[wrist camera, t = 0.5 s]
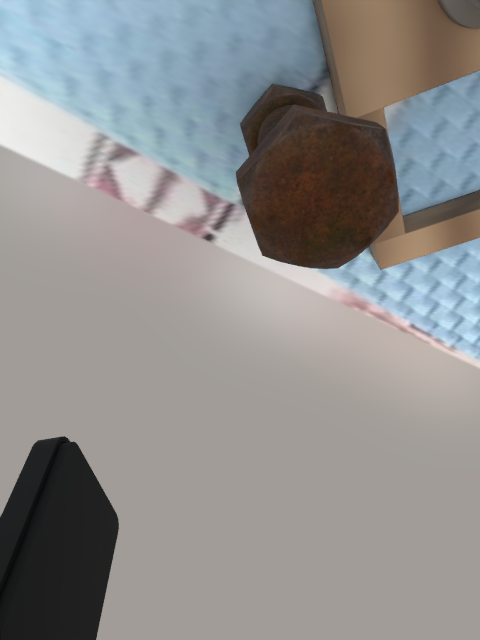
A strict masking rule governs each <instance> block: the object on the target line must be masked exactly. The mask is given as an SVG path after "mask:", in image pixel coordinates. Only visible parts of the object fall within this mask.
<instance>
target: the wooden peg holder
mask: <svg viewBox="0 0 480 640" xmlns="http://www.w3.org/2000/svg"><path fill="white" fill-rule="evenodd" d="M313 3H314V7H315V12H316V16H317V21H318V25H319V29H320V34H321V38H322V42H323V47H324V51H325V56H326V60H327V64H328V69H329V73H330V77H331V82H332V86H333V91H334V95H335V99H336V104H337V108H338V112H339V114H340V115H345V116H350V117H354V118H359V119H364V120H368V121H373V122H377V123H378V124H380V125H381V126H383V127H384V128H385V129H386V131H387V126H386V121H385V115H384V109H383V107H386V106H388V105H391V104H393V103H396V102H399V101H401V100H404V99H406V98H409V97H412V96H414V95H417V94H419V93H422V92H425V91H427V90H430V89H432V88H435V87H438V86H440V85H443V84H445V83H448V82H451V81H453V80H456V79H458V78H461V77H464V76H466V75H469V74H471V73H474V72H477V71H479V70H480V0H313ZM387 135H388V132H387ZM388 138H389V137H388ZM398 196H399V194H398ZM477 238H480V191H477V192H474V193H471V194H468V195H465V196H462V197H459V198H456V199H453V200H450V201H447V202H444V203H441V204H439V205H436V206H433V207H430V208H427V209H424V210H421V211H418V212H415V213H412V214H409V215H406V216H403V217H402V211H401V205H400V200H399V212H398V214H397V215H396V216H395V218H394V219H393V220H392V222H391V223H390V224H389V226H388V227H387V228H386V229H385V230H384V231H383V233H382V234H381V235H380V236H379V237H378V238H377V239H376V240H375V241H374V242H373V243H372V244H371V245H370V246H369V248H370V253H371V255H372V257H373V258H374V260H375V261H376V263H377V265H378V266H379V268H380V270H381V269H384V268H388V267H391V266H394V265H397V264H400V263H403V262H406V261H409V260H412V259H415V258H418V257H421V256H425V255H428V254H431V253H434V252H437V251H440V250H443V249H446V248H449V247H452V246H455V245H458V244H462V243H465V242H468V241H471V240H474V239H477Z"/></svg>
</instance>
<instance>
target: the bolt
mask: <svg viewBox="0 0 480 640" xmlns="http://www.w3.org/2000/svg"><path fill="white" fill-rule="evenodd" d="M240 125H241V130H242V133H243V136H244V140H245V143H246V146H247V149H248V152H249V155H250V156H249V158H248V159H247V160H246V161H245V162H244V163H243V165H242V166H241V167H240V168H239V169H238V171H237V172H236V177H237V183H238V187H239V190H240V193H241V197H242V200H243V203H244V206H245V209H246V212H247V215H248V218H249V221H250V224H251V226H252V229H253V232H254V235H255V238H256V240H257V243H258V246H259V248H260V251H261V253H262V255H263V256H265V257H268V258H271V259H274V260H277V261H279V262H284V263H288V264H292V265H297V266H302V267H307V268H318V269H331V268H339V267H341V266H342V265H344V264H346V263H347V262H349V261H351V260H352V259H353V258H355V257H356V256H358V255H359V254H360V253H361V252H363V251H364V250H365V249H366V248H367V247H369V246H370V245H371V244H372V243H373V242H374V241H375V240H376V239H377V238H378V237H379V236H380V235H381V234H382V233H383V231H384V230H385V229H386V228H387V227H388V226H389V224H390V223H391V222H392V220H393V219H394V218H395V216H396V215H397V214H398V212H399V196H398V187H397V179H396V171H395V164H394V159H393V154H392V150H391V146H390V142H389V138H388V135H387V131H386V129H385V128H384V127H383V126H381V125H380V124H378V123H377V122H373V121H368V120H364V119H359V118H354V117H350V116H345V115H340V114H336V113H331V112H327V110H326V107H325V103H324V99H323V97H322V96H321V95H319V94H316V93H312V92H308V91H304V90H300V89H296V88H291V87H286V86H281V85H275V84H272V85H271V86H270V87H269V88H268V89H267V91H266V92H265V93H264V94H263V95H262V96H261V97H260V99H259V100H258V101H257V102H256V103H255V105H254V106H253V107H252V109H251V110H250V111H249V112H248V114H247V115H246V116H245V118H244V119H243V121H242V122H241V123H240Z"/></svg>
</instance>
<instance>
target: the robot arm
mask: <svg viewBox="0 0 480 640" xmlns="http://www.w3.org/2000/svg"><path fill="white" fill-rule="evenodd" d="M118 529H119V523H118V517H117V514H116V512H115V510H114V509H113V507H112V505H111V503H110V501H109V500H108V498H107V496H106V495H105V492H104V491H103V489H102V487H101V485H100V484H99V482H98V480H97V478H96V476H95V475H94V473H93V471H92V469H91V468H90V466H89V464H88V462H87V460H86V459H85V457H84V455H83V454H82V452H81V450H80V448H79V446H78V445H77V444H76V443H75V442H70V441H69V440H68V438H66V437H57V438H51V439H45V440H39V441H37V442H36V443H35V444H34V445H33V447H32V449H31V451H30V453H29V456H28V458H27V460H26V462H25V464H24V467H23V469H22V471H21V473H20V475H19V478H18V480H17V482H16V484H15V487H14V489H13V491H12V493H11V495H10V498H9V500H8V502H7V505H6V507H5V509H4V511H3V513H2V515H1V517H0V640H96V637H97V632H98V627H99V622H100V617H101V613H102V607H103V603H104V598H105V593H106V588H107V583H108V578H109V573H110V569H111V564H112V559H113V554H114V549H115V544H116V540H117V535H118Z"/></svg>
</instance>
